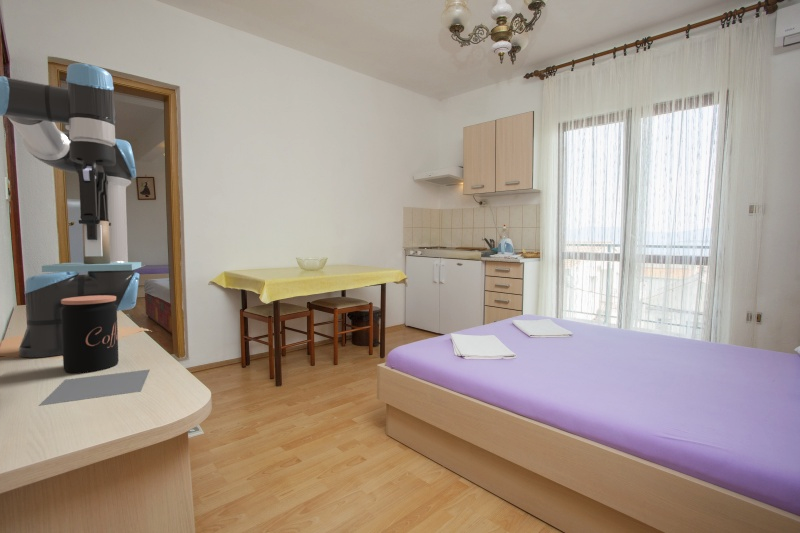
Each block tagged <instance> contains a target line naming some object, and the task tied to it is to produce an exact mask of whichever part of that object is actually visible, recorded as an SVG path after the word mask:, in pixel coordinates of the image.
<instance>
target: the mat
mask: <svg viewBox="0 0 800 533" xmlns="http://www.w3.org/2000/svg"><path fill="white" fill-rule="evenodd" d="M150 370H151V369H143V370H136V371H135V370H133V371H126V372H117V373H111V374H109V373H108V374H101V375H94V376H93V375H92V376H85V377H77V378H67V379H64V380H63V381H62V382H61V383H60V384H59V385H57V387H55V389H54V390H53V391H52V392H51V393H50V394H49V395H48V396H47V397H45V399H44V400H43V401H41V402H40V403H39V404H38V407H39V406H40V407H41V406H49V405H55V404H60V403H68V402H75V401H76V402H77V401H81V400H82V401H83V400H91V399H96V398H98V399H99V398H102V397H103V398H104V397H111V396H117V395H118V396H119V395H125V394H132V393H140V392H142V390H143V388H144V384H145V382H146V380H147V378H148V375H149V373H150Z"/></svg>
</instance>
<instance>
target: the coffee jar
mask: <svg viewBox="0 0 800 533" xmlns="http://www.w3.org/2000/svg"><path fill="white" fill-rule="evenodd" d="M115 300H116V296H111V295H98V296H81V297H72V298H65V299H62V300H61V304H63V305H64V308H63V309H62V311H61V318H62V342H63V355H62V361H63V362H62V363H63V364H62V366H63V371H64V372H65V373H67V374H70V375H71V374H73V375H74V374H77V375H78V374H79V375H80V374H88V373H96V372H101V371H104V370H108V369H111V368H114V367H116V366H117V365H118V364H119V360H120V359H119V338H118V337H119V334H118V332H119V330H118V311H117V306H116V305H115V304H114V302H115Z"/></svg>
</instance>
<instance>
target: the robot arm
mask: <svg viewBox="0 0 800 533" xmlns="http://www.w3.org/2000/svg"><path fill="white" fill-rule="evenodd" d="M65 82H66V85H67V86H66V87H60V86H55V85H49V84H43V83H38V82H33V81H27V80H23V79H22V80H21V79H17V78H11V77H7V76H4V75H2V76H0V116H1V117H3V116H5V117H6V118H8V120H9V121H10V123H12V125H13V126H14V128H16V130H17V132H18V133H19V134H20V135H21V137H22V139H23V144H24V146H25V148H26V150H27V152H29V154H30V155H32V156H33V157H34V158H36V159H37V160H39V161H40V162H42V163H44V164H45V165H47V166H50V167H52V168H54V169H58V170H59V171H60V170H61V171H64V172H68V173H74V174H77V175H78V181H79V182H78V183H79V185H78V186H79V208H80V210H79V211H80V217H79V218H80V219H78V224H79V225H80V224H81V225H82V224H84V238H85V256H102V228H101V225H97V224H99V223H100V221H109V244H110V262H129V254H128V252H129V250H128V249H129V248H128V226H127V225H128V222H127V221H128V220H127V191H126V190H127V188H128V187H129V186H130V185H131V184H132V179H135V178H137V171H136V164H135V157H134V153H133V152H134V151H133V150H132V145H131V144H130V142H129V141H127V140H125V139H119V138H116V126H115V124H116V120H117V113H116V110H115V108H116V107H115V98H114V89H115V87H114V82H113V76H112V75H111V73H109V71H107V70H106V69H104V68H102V67H100V66H96V65H93V64H88V63H81V62H75V63H71V64H69V65H68V66H67V68H66V78H65ZM57 123H58V124H65V125H64V126H65V129H66V130H67V131H63V130H62V131H61V130H60V129H59V128H58V127H57ZM139 282H140V273H138V272H135V269H134V270H122V271H87V274H80V271H74V272H45V273H39V274H33V275H31V276H29V277H27V278H26V279H25V289H24V292H23V293H24V295H25V311H26V312H25V314H26V329H25V332H24V334H23V337H22V338H21V342H20V344H19V348H18V350H19V351H18V352H19V354H18V355H19V356H20V357H22V358H29V359H30V358H47V357H55V356H61V355H62V356H63V342H62V318H61V311H62V309H63V308H64V305H63V304H61V300H62V299H65V298H72V297H81V296H98V295H111V296H116V300H115V302H114V304H115V305H116V306H117V312H119V311H127V310H132V309H134V307H136V304H137V298H138V290H139Z"/></svg>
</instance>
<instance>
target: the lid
mask: <svg viewBox="0 0 800 533" xmlns="http://www.w3.org/2000/svg"><path fill="white" fill-rule="evenodd" d="M97 225H101V228H102V256H85V238H84V224H81V226H82V227H81V228H82V251H83V252H82V254H83V256H82V257H83V262H62V263H53V264H52V263H51V264H46V265H45V264H43V265H41V273H53V272H74V271H78V272H88V271H122V270H134V271H135V270H137V269H140V268H142V261H128V262H110V244H109V221H100V223H99V224H97Z"/></svg>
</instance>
